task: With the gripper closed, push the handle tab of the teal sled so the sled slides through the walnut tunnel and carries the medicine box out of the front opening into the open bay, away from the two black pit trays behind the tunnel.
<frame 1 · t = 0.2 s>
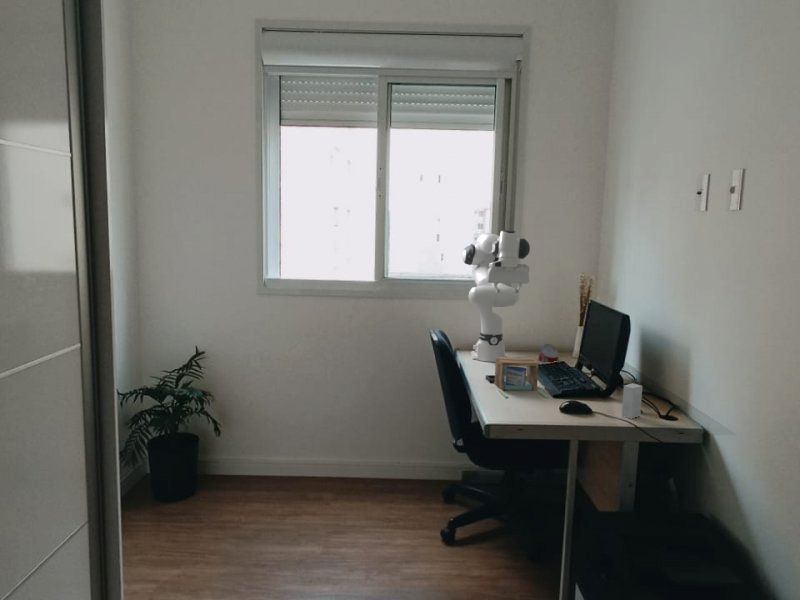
hand: (507, 292, 258), 38 cm above the table, tool pointing down, fingers open, 8 cm apart
canned food: (548, 361, 288), on the table
medicine box: (515, 387, 237), resting in sled
tunnel: (515, 387, 237), on the table
skincare box: (630, 417, 203), on the table
pit left: (492, 380, 246), on the table
sled: (510, 375, 243), point 3 cm above the table, slide at 0.0 cm, touching medicine box
bay marker left: (503, 394, 226), on the table
bay marker right: (542, 394, 228), on the table
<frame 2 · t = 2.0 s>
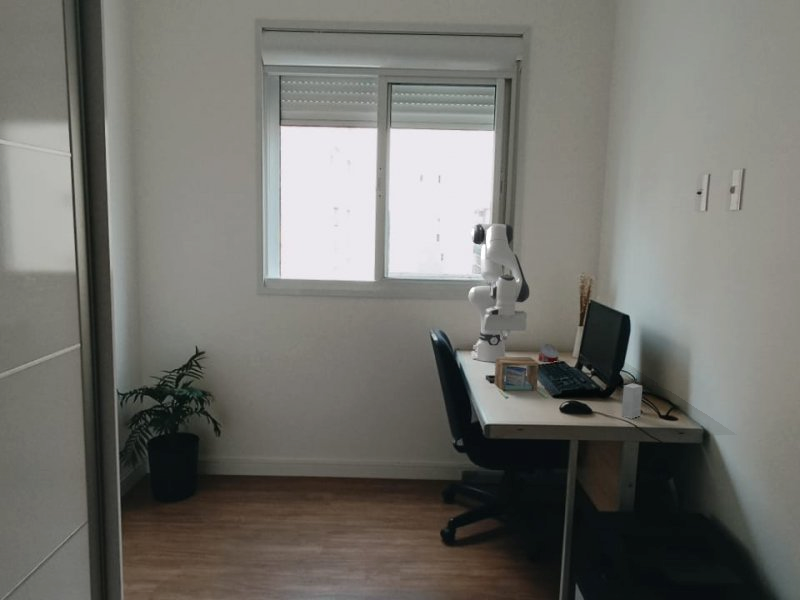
hand: (503, 339, 254), 17 cm above the table, tool pointing down, fingers closed
nothing on the table moved.
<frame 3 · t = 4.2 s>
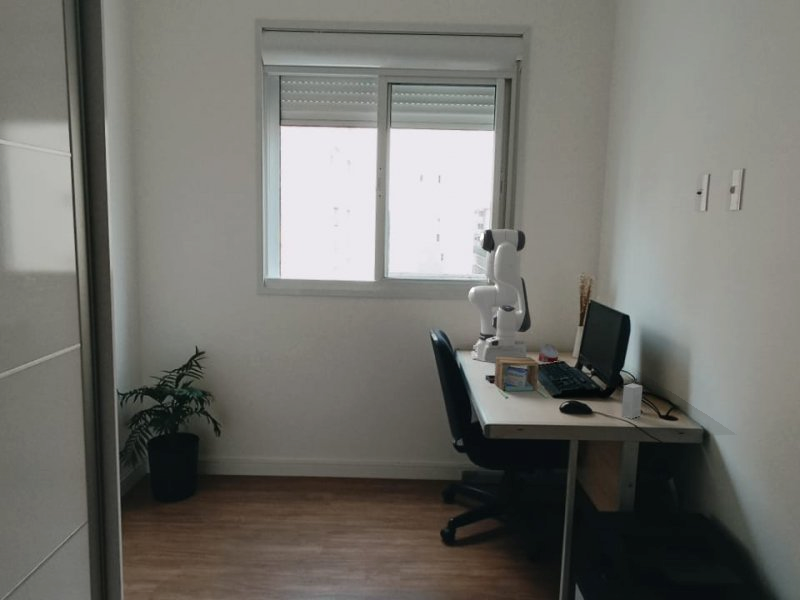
hand: (503, 370, 253), 3 cm above the table, tool pointing down, fingers closed, pressing on sled
medicine box: (516, 388, 235), resting in sled
sled: (511, 376, 241), point 3 cm above the table, slide at 1.4 cm, touching gripper, medicine box
everything else where it was.
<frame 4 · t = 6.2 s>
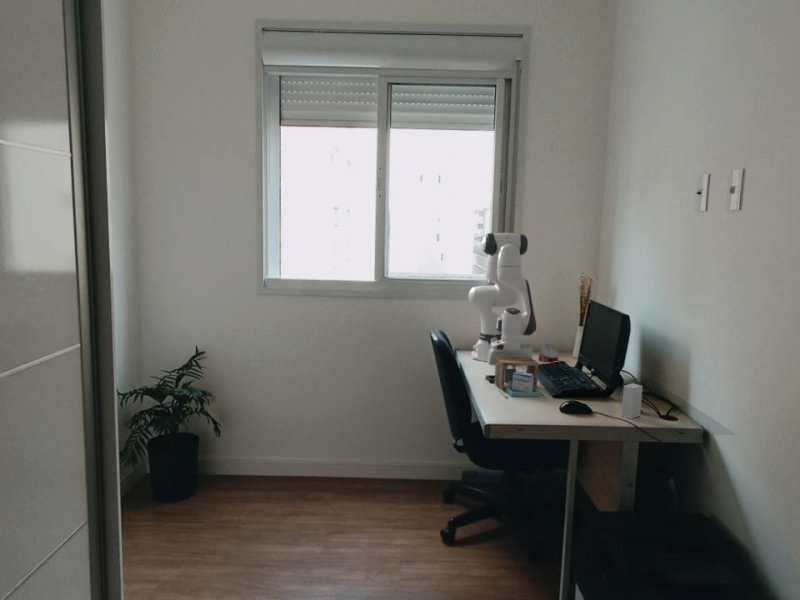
hand: (509, 374, 245), 3 cm above the table, tool pointing down, fingers closed
medicine box: (522, 393, 227), resting in sled
sled: (517, 381, 234), point 3 cm above the table, slide at 9.2 cm, touching medicine box
everything else where it was.
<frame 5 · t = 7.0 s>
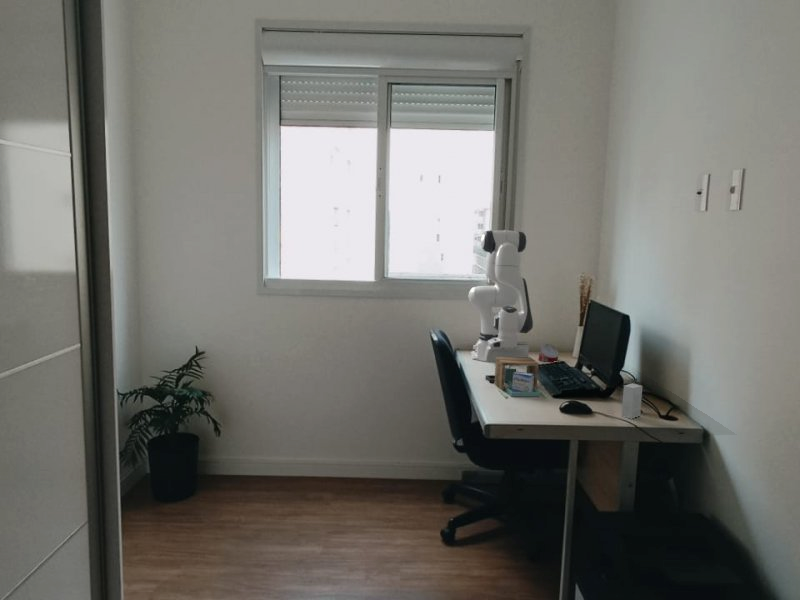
hand: (505, 371, 250), 3 cm above the table, tool pointing down, fingers closed
nothing on the table moved.
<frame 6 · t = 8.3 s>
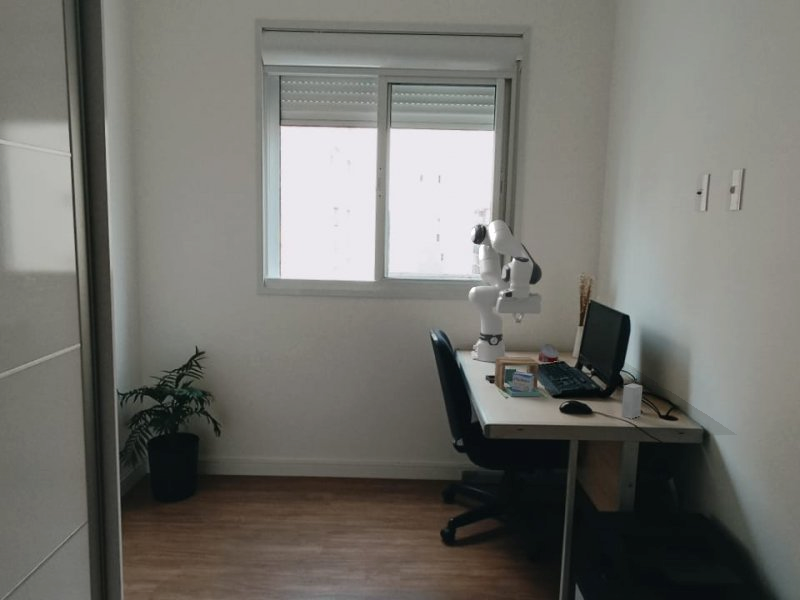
hand: (517, 322, 249), 26 cm above the table, tool pointing down, fingers closed
nothing on the table moved.
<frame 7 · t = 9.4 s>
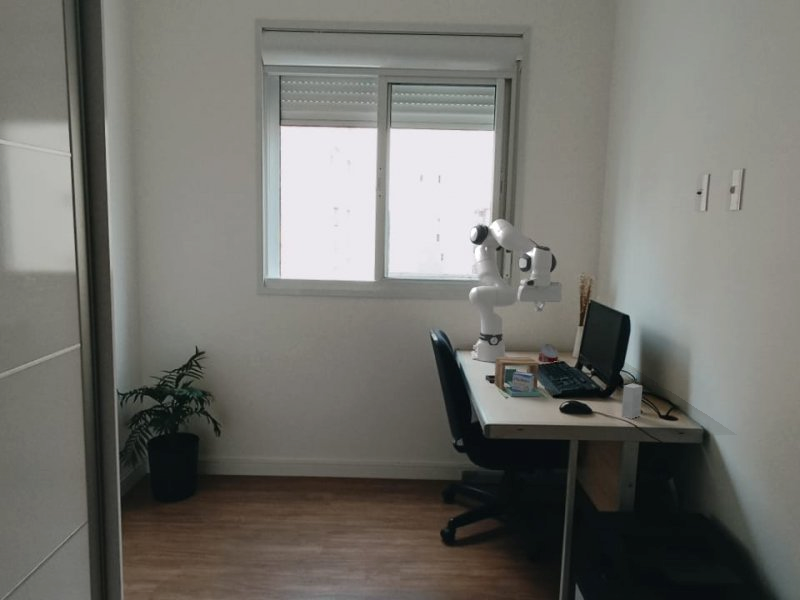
hand: (538, 311, 251), 31 cm above the table, tool pointing down, fingers closed
nothing on the table moved.
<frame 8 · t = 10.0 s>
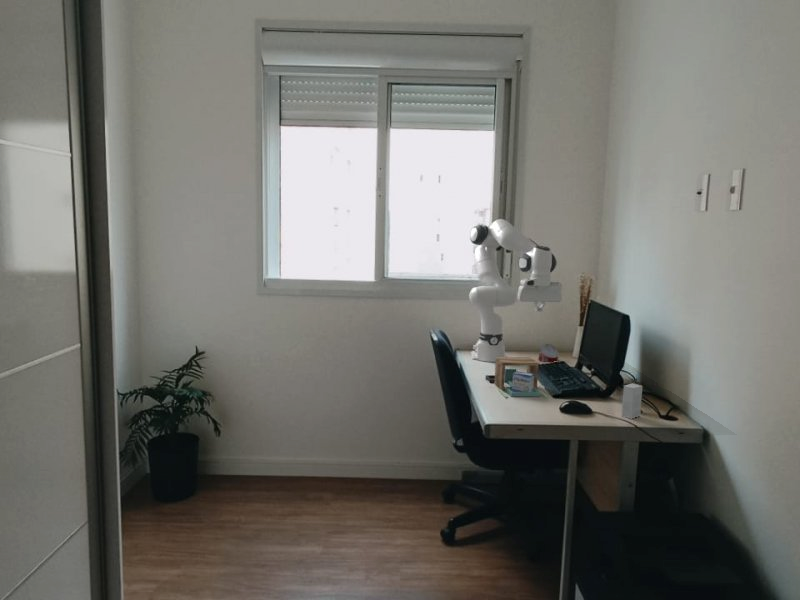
hand: (538, 311, 251), 31 cm above the table, tool pointing down, fingers closed
nothing on the table moved.
at the end: medicine box inside the target area (1.0 cm from its centre), resting in sled; medicine box tilted 0°; sled slide at 9.2 cm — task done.
